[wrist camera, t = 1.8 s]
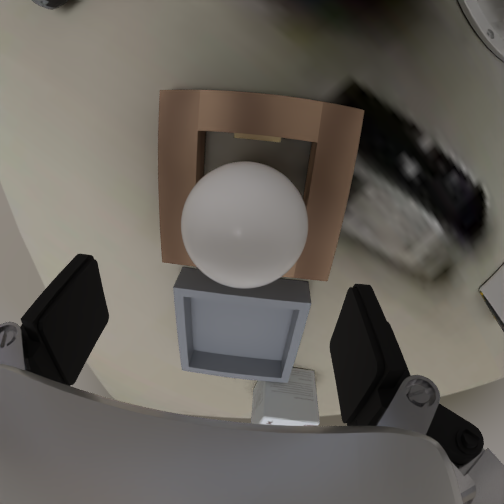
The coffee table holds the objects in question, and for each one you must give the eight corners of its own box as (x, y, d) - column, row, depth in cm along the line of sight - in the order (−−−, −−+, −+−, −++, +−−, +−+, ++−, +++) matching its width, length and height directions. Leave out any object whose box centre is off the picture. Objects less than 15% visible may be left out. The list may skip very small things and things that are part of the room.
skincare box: (252, 389, 35) (248, 439, 29) (265, 361, 32) (262, 417, 26) (298, 396, 35) (299, 445, 29) (316, 369, 32) (320, 423, 26)
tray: (308, 281, 26) (311, 303, 24) (287, 361, 32) (287, 382, 29) (182, 267, 26) (173, 287, 24) (187, 349, 32) (181, 370, 29)
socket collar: (354, 108, 19) (364, 110, 16) (323, 264, 25) (327, 281, 23) (172, 89, 19) (159, 90, 17) (171, 246, 25) (162, 262, 23)
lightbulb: (313, 191, 22) (341, 276, 13) (244, 233, 24) (225, 332, 15) (265, 121, 20) (256, 149, 10) (195, 170, 22) (135, 238, 12)
